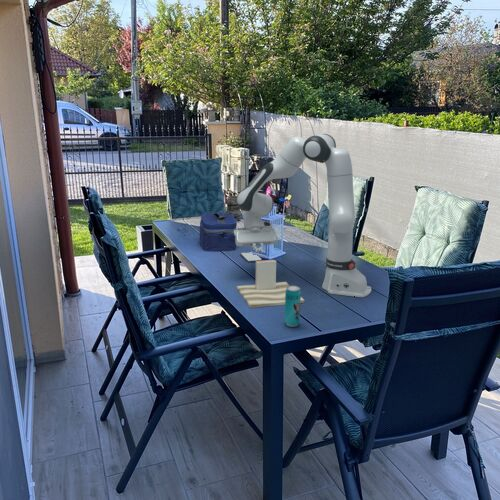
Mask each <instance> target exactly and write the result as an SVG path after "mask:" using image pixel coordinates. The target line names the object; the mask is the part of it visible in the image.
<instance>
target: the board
mask: <svg viewBox="0 0 500 500" xmlns="http://www.w3.org/2000/svg"><path fill="white" fill-rule="evenodd" d="M288 286H291V285H290V284H288V282H287V281H278V282H276V288H274V289H263V290H256V288H255V284H244V285H236V289H237V292H239V294H240V295H241V296H242V298H243V299H244V300H245V302H246V304H247V305H248V307H249V308H250V309H255V308H264V307H265V308H266V307H274V306H275V307H276V306H285V294H286V288H287V287H288ZM300 304H305V299H304V298H303V297H302V296H301V299H300Z"/></svg>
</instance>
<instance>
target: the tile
mask: <svg viewBox="0 0 500 500" xmlns="http://www.w3.org/2000/svg"><path fill="white" fill-rule="evenodd" d="M254 276H255V288H256V290H263V289H274V288H276V283H277V260H276V259H267V260H266V259H265V260H262V261H256V262H255V275H254Z"/></svg>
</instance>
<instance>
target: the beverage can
mask: <svg viewBox="0 0 500 500" xmlns="http://www.w3.org/2000/svg"><path fill="white" fill-rule="evenodd" d="M301 293H302V292H301V287H299V286H297V285H290V286H288V287H287V288H286V294H285V305H284V323H285V325H286V326H287V327H290V328H294V327H298V325H299V324H300V320H301V319H300V317H301V303H300V299H301V297H302V296H301V295H302V294H301Z"/></svg>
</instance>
